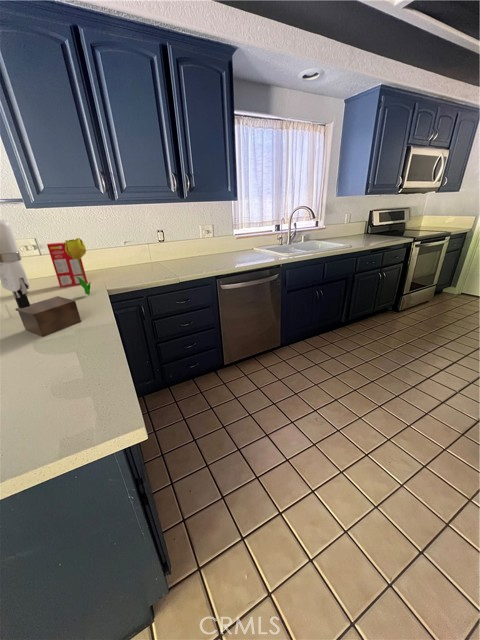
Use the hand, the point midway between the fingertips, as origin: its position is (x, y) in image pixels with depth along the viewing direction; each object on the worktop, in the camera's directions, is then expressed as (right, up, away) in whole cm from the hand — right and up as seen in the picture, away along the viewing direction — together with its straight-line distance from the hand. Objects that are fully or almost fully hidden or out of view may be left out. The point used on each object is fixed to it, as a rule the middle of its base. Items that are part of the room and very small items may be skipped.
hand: (24, 306), depth 99 cm
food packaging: (-22, +17, +65) cm, 71 cm away
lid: (+4, +1, +7) cm, 8 cm away
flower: (-2, +8, +45) cm, 46 cm away
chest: (+4, -7, +11) cm, 13 cm away
